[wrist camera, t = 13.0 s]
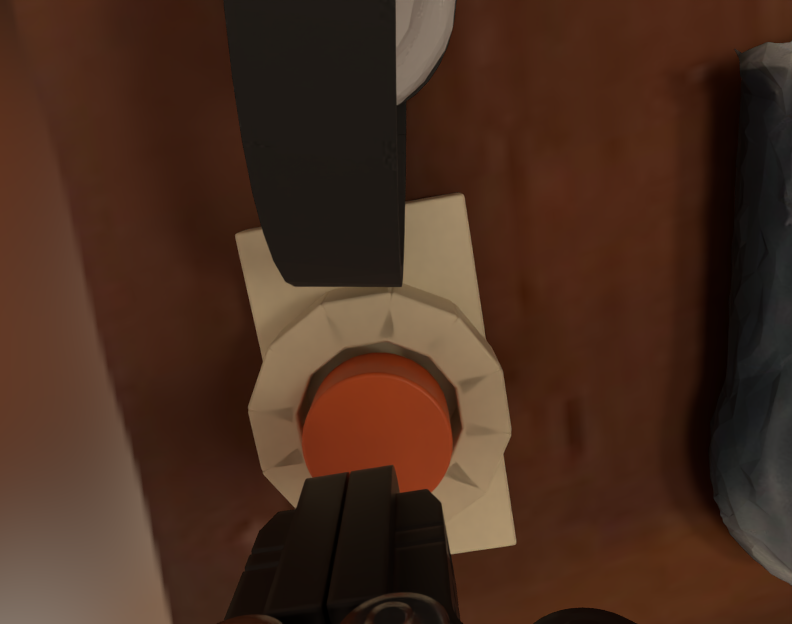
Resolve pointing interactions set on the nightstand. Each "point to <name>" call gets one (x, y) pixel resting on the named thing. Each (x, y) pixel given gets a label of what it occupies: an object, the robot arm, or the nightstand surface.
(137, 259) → the nightstand surface
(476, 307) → the control block
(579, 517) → the nightstand surface
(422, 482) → the button
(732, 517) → the electronic device
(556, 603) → the nightstand surface
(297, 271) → the headphones
